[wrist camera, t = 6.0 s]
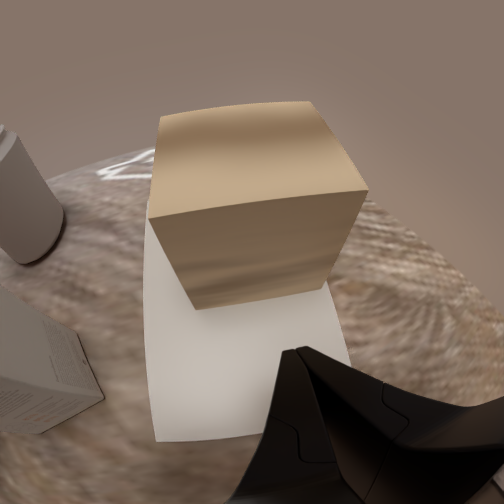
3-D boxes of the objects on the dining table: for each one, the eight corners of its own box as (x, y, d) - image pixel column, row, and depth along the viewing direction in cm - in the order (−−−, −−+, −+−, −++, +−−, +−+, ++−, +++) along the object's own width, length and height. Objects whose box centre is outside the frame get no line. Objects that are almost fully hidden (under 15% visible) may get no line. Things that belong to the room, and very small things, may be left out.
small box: (78, 331, 16) (-24, 258, 7) (107, 400, 14) (-17, 370, 5) (17, 372, 14) (-80, 327, 5) (39, 435, 11) (-70, 417, 2)
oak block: (320, 289, 17) (368, 189, 9) (195, 310, 16) (147, 218, 9) (293, 206, 21) (309, 101, 13) (188, 221, 20) (160, 116, 12)
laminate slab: (355, 407, 14) (361, 406, 13) (161, 440, 13) (156, 441, 12) (288, 187, 23) (289, 179, 22) (150, 207, 22) (147, 200, 21)
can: (17, 226, 22) (-38, 151, 11) (66, 195, 23) (17, 106, 13) (14, 280, 18) (-64, 202, 8) (69, 247, 20) (-5, 145, 10)
